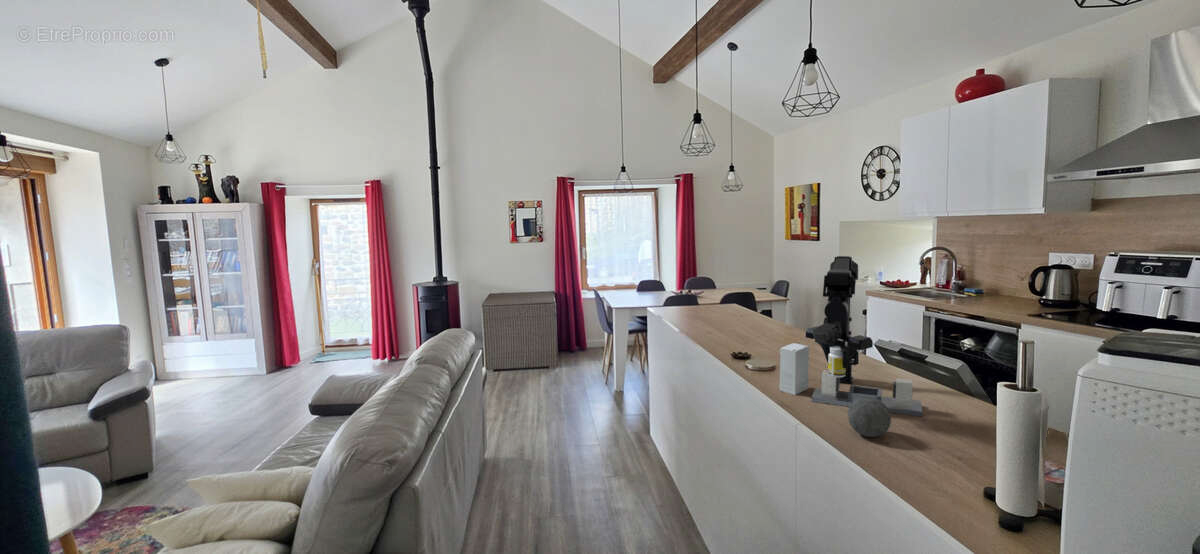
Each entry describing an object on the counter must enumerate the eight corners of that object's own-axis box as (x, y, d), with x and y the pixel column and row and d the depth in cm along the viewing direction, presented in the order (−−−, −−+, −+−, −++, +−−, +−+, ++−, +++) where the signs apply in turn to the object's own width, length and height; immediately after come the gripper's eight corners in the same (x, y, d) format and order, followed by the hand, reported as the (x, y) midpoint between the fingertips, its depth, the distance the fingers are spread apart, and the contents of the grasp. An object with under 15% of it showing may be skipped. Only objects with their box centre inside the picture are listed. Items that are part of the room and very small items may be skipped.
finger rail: (815, 392, 170) (815, 366, 168) (920, 406, 155) (921, 378, 154) (811, 401, 162) (811, 374, 161) (921, 416, 148) (923, 387, 146)
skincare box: (792, 385, 177) (793, 342, 175) (809, 389, 173) (810, 345, 171) (778, 391, 172) (779, 347, 170) (795, 395, 167) (796, 350, 166)
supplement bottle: (848, 375, 155) (849, 348, 154) (839, 379, 153) (840, 351, 152) (833, 371, 159) (834, 344, 158) (824, 374, 157) (825, 347, 156)
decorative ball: (878, 447, 130) (879, 408, 129) (839, 434, 138) (840, 398, 137) (897, 436, 136) (899, 399, 135) (859, 424, 144) (860, 389, 143)
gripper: (793, 313, 158) (792, 363, 160) (848, 324, 142) (847, 379, 144) (818, 308, 163) (817, 356, 165) (874, 318, 147) (873, 371, 149)
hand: (837, 365), depth 156 cm, fingers closed on supplement bottle, 5 cm apart
